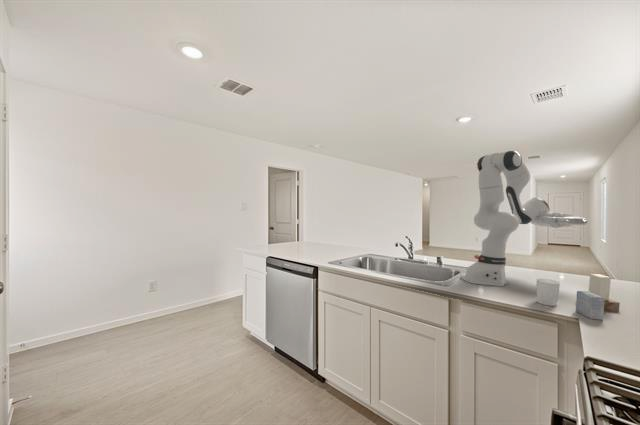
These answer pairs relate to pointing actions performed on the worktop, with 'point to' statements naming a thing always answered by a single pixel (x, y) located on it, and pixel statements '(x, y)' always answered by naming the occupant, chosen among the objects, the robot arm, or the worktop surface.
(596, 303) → the medicine box
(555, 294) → the white cup
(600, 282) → the cream pillar
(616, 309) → the walnut block
